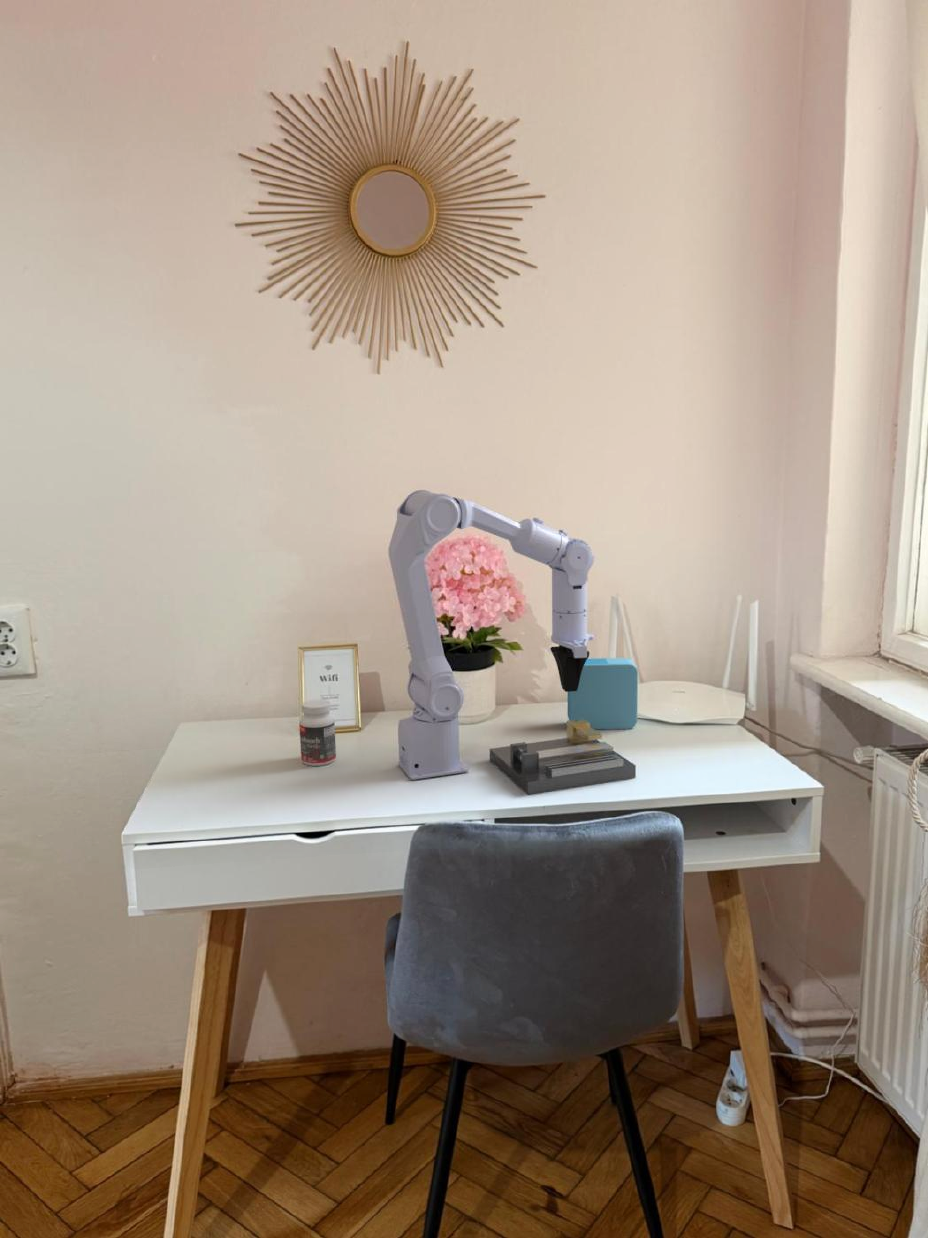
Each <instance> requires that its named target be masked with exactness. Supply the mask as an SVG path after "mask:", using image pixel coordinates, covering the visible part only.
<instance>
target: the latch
mask: <svg viewBox="0 0 928 1238" xmlns="http://www.w3.org/2000/svg"><path fill="white" fill-rule="evenodd" d="M566 738H567V740H569V741H570V742H572V743H573V744H575V743H582V742H588V741H590V740H603V734H602V733H600V732H599V731H598V730H594V729H593V728H591V727H590V723H589V722H588V721H586V720H585V719H578V720H570V721H569V720H566Z"/></svg>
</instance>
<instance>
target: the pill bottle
mask: <svg viewBox="0 0 928 1238" xmlns="http://www.w3.org/2000/svg"><path fill="white" fill-rule="evenodd" d="M331 710H332V705H331V702H330V701H329V700H326V699H310V700H307V701H306V700H305V701H304V702H302V703H301V713H303V715H302V716H301V717H300V718H299V740H300V758H301V762H302V763H303V764H305V765H307V766H310V767H320V766H326V765H330V764H333V763H334V762H335V761H336V758H337V753H336V752H337V751H336V747H337V746H336V729H335V724H336V723H335V717H334V716H333V715H332V714H331V713H330V712H331Z"/></svg>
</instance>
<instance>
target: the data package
mask: <svg viewBox="0 0 928 1238" xmlns="http://www.w3.org/2000/svg"><path fill="white" fill-rule="evenodd" d="M638 689H639V670H638V668H637V666H636V665H635V663H634V662H633V660H631V659H630V658H628V657H608V658H605V657H604V658H602V657H601V658H588V659H587V660H586V662H585V664H584V667H583V669H582V673H581V677H580V682H579V686H578V689H577V691H571V692H567V719H568V721H570V720H578V719H585V720H586V721H588V722H589V723H590V727H591V728H593V729H594V730H596V731H598V730H603V731H604V730H630V729H633V728H634V727H635V726H636V725H637V723H638V706H639V705H638V703H639V702H638V701H639V700H638V699H639V697H638V695H639V694H638V693H639V690H638Z"/></svg>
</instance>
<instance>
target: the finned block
mask: <svg viewBox="0 0 928 1238" xmlns="http://www.w3.org/2000/svg"><path fill="white" fill-rule="evenodd" d="M599 742H601V741H600V740H599V739H597V740H590V741H588V742H582V743H575V744H573V743H572V742H570V741H569V740H567V737H564V738H558V739H556V738H555V739H551V740H544V741H543V740H542V741H537V742H536V741H534V742H529V743H528V742H527V743H526V742H525V741H524V742H523V741H522V742H515V743H510V744H509V746H508V745H507V746H501V747H500V746H499V747H495V748H489V761H490V762H491V763H492V764H493V765H494V766H495V765H496V766H497V767H498V770H499V771H500V772H502V773H503V772H504V773H505V774H506V775H507V776H506V775H505V774H504V773H503V774H504V775H505V776H506V777H508V778H509V779H510V780H511V781H512V782H513V781H514V782H513V783H514V784H515V785H516V786H517V787H519V788H520V789H521V790H522V791H523V792H524V793H525V794H526V795H528V796H530V795H535V794H541V793H547V792H549V793H550V792H555V791H561V790H567V789H573V788H578V787H579V788H580V787H585V786H592V785H597V784H604V783H610V782H611V783H612V782H617V781H624V780H629V779H635V778H636V772H637V771H636V770H637V768H636V767H637V766H636V764H634V763H633V762H631V761H630V760H628V759H627V758H625V757H624V756H622V755H621V754H620V753H618V752H616V751H614V750H613V751H610V752H603V753H597V754H590V755H583V756H576V757H569V758H562V759H556V760H549V761H542V762H539V753H538V752H537V751H543V750H550V749H557V748H564V747H571V746H578V745H585V744H592V743H599ZM520 751H523V752H524V753H522V762H521V761H520V760H519V759H517V753H518V752H520ZM496 766H495V767H496ZM497 767H496V768H497Z"/></svg>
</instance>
